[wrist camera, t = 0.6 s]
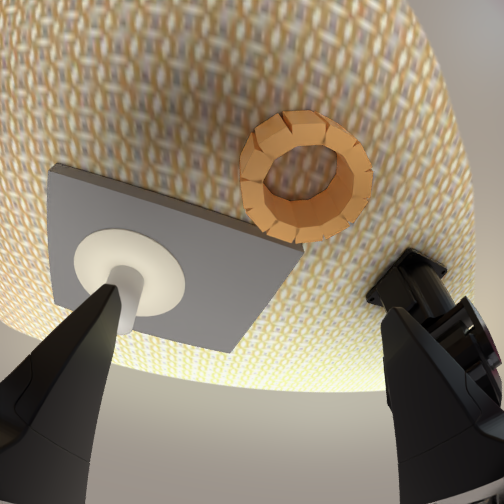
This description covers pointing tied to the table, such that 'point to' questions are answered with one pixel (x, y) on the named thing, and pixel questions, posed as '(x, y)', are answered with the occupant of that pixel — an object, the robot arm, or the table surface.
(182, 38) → the table surface
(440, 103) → the table surface
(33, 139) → the table surface
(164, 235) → the post board
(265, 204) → the orange ring
